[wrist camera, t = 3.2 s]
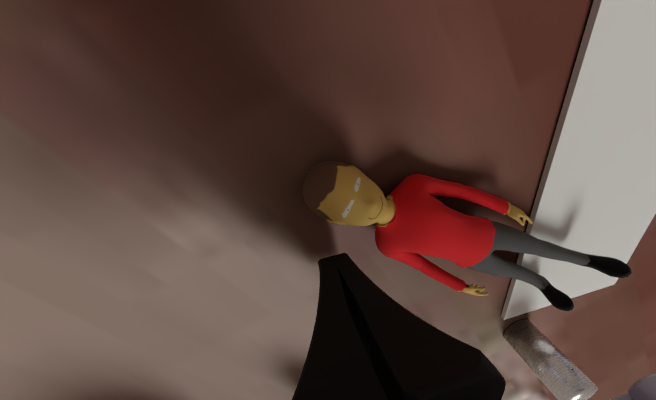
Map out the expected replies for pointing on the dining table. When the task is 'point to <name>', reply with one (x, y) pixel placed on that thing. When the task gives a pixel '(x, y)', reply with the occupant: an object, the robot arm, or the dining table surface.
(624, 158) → the mat
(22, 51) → the dining table surface
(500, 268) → the person figure
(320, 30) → the dining table surface
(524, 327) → the spacer field
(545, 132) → the dining table surface
